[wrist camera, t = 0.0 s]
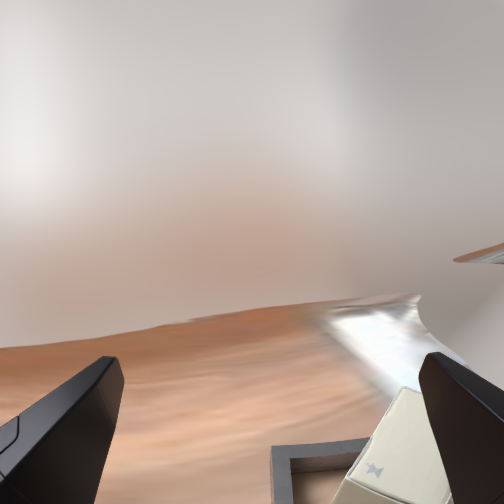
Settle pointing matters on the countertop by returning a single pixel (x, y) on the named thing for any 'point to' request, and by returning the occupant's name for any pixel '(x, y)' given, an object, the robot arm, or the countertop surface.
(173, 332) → the countertop surface
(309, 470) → the metal collar
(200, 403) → the countertop surface
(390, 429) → the skincare box
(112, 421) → the robot arm
